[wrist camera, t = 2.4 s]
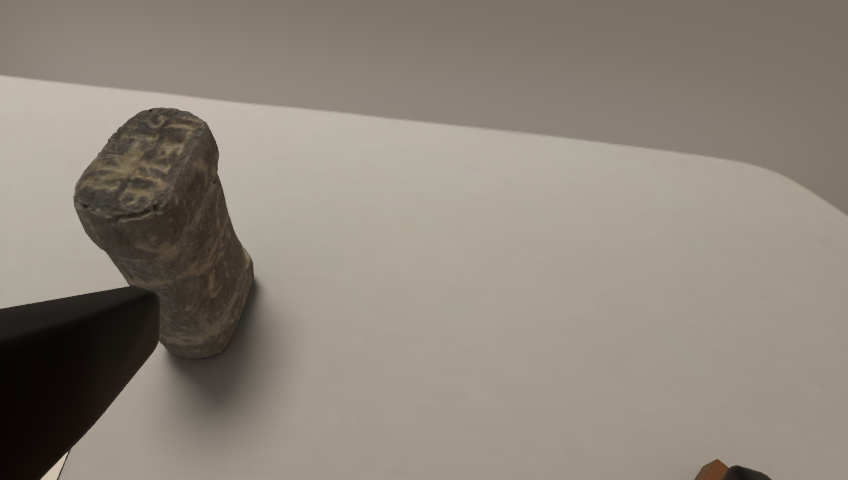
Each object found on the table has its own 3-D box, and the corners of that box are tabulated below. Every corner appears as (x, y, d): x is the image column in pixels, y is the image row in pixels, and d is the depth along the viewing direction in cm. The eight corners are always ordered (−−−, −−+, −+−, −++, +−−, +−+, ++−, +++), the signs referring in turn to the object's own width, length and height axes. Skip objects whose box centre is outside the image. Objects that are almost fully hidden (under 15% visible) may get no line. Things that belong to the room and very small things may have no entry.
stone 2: (156, 359, 24) (26, 222, 15) (207, 252, 27) (123, 90, 19) (232, 373, 23) (143, 242, 15) (275, 263, 27) (220, 105, 18)
